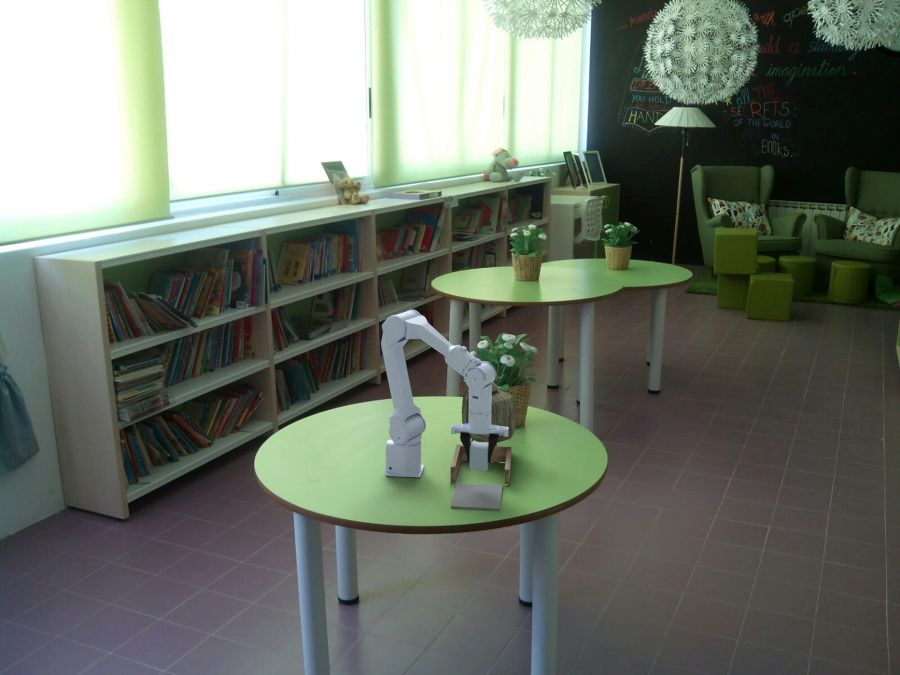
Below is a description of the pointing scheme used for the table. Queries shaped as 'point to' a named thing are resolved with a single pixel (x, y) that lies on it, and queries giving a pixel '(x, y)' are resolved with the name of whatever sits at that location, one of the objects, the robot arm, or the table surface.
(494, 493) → the pad
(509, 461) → the brown u-shaped frame
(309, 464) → the table surface
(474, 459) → the block
